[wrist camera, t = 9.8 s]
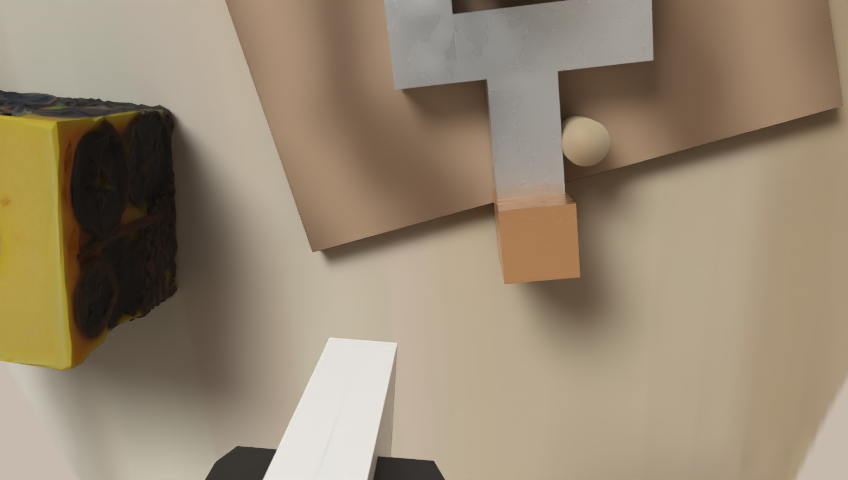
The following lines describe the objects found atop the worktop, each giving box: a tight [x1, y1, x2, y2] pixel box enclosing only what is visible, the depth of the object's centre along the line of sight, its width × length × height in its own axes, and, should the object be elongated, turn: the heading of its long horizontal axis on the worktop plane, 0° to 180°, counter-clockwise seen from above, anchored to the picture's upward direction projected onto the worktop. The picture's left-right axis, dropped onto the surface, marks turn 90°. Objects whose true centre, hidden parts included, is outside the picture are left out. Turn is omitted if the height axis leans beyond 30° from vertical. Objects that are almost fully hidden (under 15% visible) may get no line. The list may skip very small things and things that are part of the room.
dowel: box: [561, 115, 610, 166], centre depth 31 cm, size 2×2×3 cm
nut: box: [384, 0, 653, 284], centre depth 29 cm, size 20×11×5 cm, turn 6°
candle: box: [0, 90, 177, 370], centre depth 31 cm, size 10×10×10 cm
